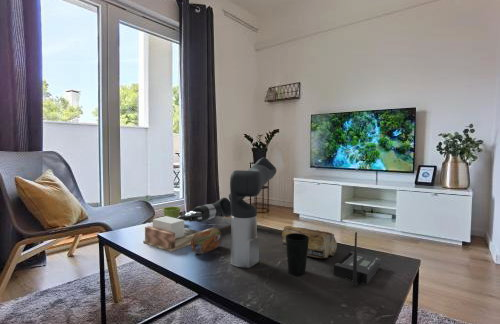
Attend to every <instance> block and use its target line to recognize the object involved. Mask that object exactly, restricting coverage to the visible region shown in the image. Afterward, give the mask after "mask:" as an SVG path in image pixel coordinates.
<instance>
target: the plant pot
mask: <svg viewBox="0 0 500 324" xmlns="http://www.w3.org/2000/svg"><path fill="white" fill-rule="evenodd" d="M162 211H163V214H164V216H168V217H173V218H177V217H180V212H181V207H180V206H167V207H163V208H162Z"/></svg>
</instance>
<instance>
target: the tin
mask: <svg viewBox="0 0 500 324" xmlns="http://www.w3.org/2000/svg"><path fill="white" fill-rule="evenodd" d="M222 237H223V235H222V232H221V230H220V229H219V228H217V227H209V228H207V229H203V231H202V230H200V232H197V233H196V234H194V236H193V237H192V239H191V245H190V248H191V251H192V252H194V253H195V254H198V255H203V254H205V253H208V252H211V251H213V250H215V249H217V248H218V247H219V246H220V244H221V242H222Z"/></svg>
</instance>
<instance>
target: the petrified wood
mask: <svg viewBox="0 0 500 324" xmlns="http://www.w3.org/2000/svg"><path fill="white" fill-rule="evenodd" d="M292 233H298V234H304V235H307V236H308V237H309V243H308V252H307V257H312V258H316V259H317V258H319V259H327V258H329V256H333V257H334V256H335V253H336V251H337V249H338V245H337V244H338V243H337V240H336V237H335V234H334V233H332V232H329V231H321V230H318V229H311V228H305V227H299V226H298V227H296V226H290V225H285V226H284V227H283V229H282V233H281V238H282V241H281V242H282V246H283V247H285V248H286V235H288V234H292Z"/></svg>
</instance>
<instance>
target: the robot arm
mask: <svg viewBox="0 0 500 324" xmlns="http://www.w3.org/2000/svg"><path fill="white" fill-rule="evenodd" d="M276 173H277V168H276V166H274V164H273V163H272V162H271V161H270V160H269V159H268V158H267V157H265V156H262V157H261V158H260V159H258V160H257V161H256V162H255V163H254V164H253V166H252V167H250V168H249V169H248V170H242V169H240V170H238V169H237V170H233V171H232V172H231V174H230V178H229V179H230V180H229V188H230V193H229V194H228V198H227V197H221V198H220V199H219V200H217V201H215V202H214V203H209V204H208V203H207V204H203V205H198V206H195V207H194V208H193V209H192V210H190V211H188V212H186V211H181V213H180V215H179V217H177V219H181V220H184V222H189V223H191V222H197V223H202V222H206V221H208V220H211V219H213V218H216V217H219V216H221V215H223V216H224V217H226V218H228V217H230V264H231V265H232V266H234V267H238V268H247V269H249V268H252V267H253V266H255V265H257V264H258V263H259V258H260V257H259V255H260V253H259V252H260V251H259V250H260V247H259V246H260V244H259V243H260V240H259V239H260V237H259V236H258V235H257V231H258V230H257V224H258V222H257V221H258V219H257V218H258V210H257V207H256V206H254V205H252V204H251V203H248V202H246V201H245V200H244V199H245V198H246V197H251V198H253V197H257V196H258V195H259V194H260V193H261V191H262V189H263V187H264V186H265V185H266V184H267V183H268V182H269V181H270V180H271V179H273V178H274V176H275V175H276Z"/></svg>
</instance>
